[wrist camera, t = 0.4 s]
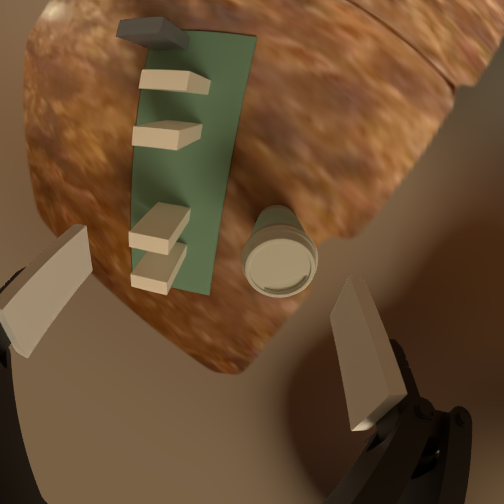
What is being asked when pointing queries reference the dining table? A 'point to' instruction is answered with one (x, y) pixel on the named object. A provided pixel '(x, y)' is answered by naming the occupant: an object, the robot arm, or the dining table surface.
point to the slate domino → (153, 33)
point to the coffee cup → (279, 254)
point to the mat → (193, 146)
